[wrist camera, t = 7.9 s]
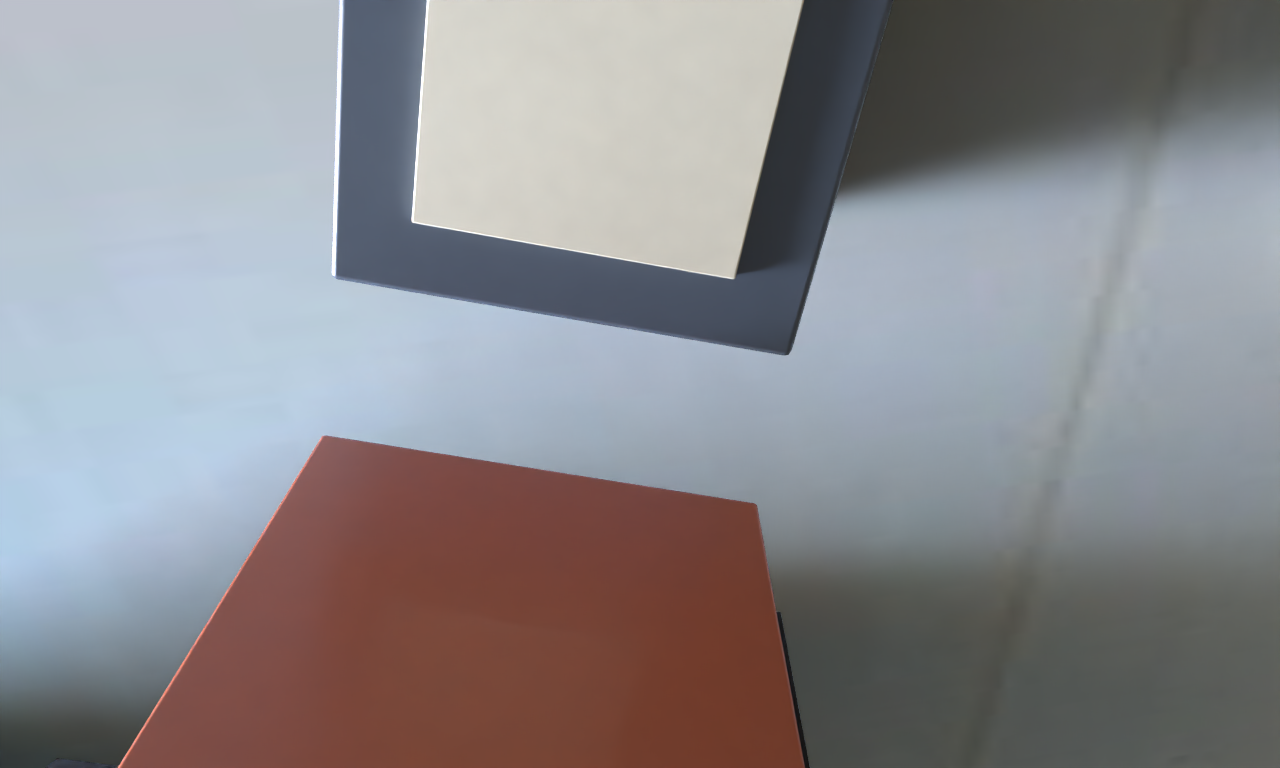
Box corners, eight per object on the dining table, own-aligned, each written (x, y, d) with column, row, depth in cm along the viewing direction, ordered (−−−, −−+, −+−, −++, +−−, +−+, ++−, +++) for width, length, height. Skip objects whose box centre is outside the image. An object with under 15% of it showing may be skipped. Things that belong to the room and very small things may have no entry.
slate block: (458, -222, 14) (340, -300, 9) (835, -140, 15) (948, -166, 9) (429, 161, 17) (325, 285, 11) (747, 218, 17) (792, 363, 12)
